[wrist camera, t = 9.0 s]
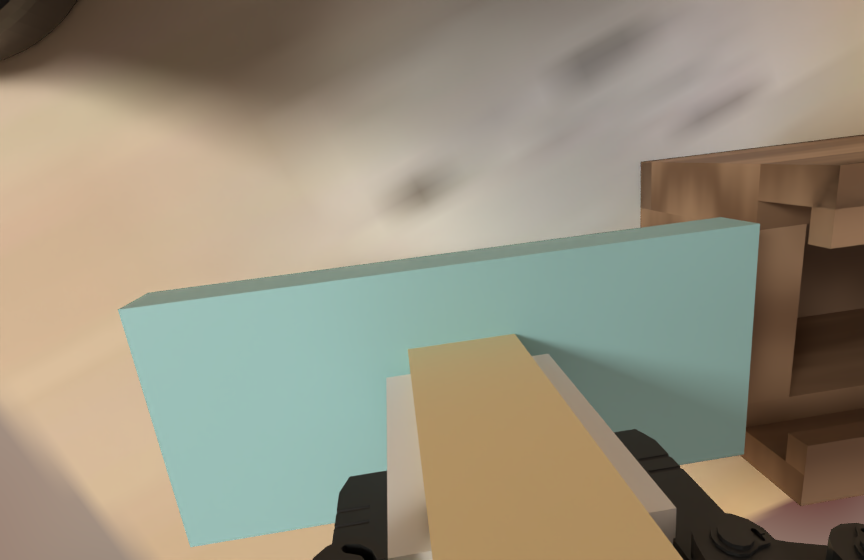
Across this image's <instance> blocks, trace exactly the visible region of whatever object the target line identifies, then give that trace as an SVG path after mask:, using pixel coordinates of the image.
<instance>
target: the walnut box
mask: <svg viewBox="0 0 864 560" xmlns="http://www.w3.org/2000/svg"><path fill="white" fill-rule="evenodd" d="M718 217H723V218H729V219H735V220H741V221H747V222H753V223H759V224H760V232H759V246H758V261H757V275H756V289H755V304H754V318H753V332H752V347H751V361H750V376H749V390H748V404H747V419H746V433H745V447H744V454H743V455H740V456H742V457H743V458H744V459H745V460H746V461H748V462H749V463H750V464H751V465H752V466H753V467H755V468H756V469H757V470H758V471H759V472H761V473H762V474H763V475H764V476H765V477H767V478H768V479H769V480H770V481H771V482H773V483H774V484H775V485H776V486H777V487H779V488H780V489H781V490H782V491H783V492H785V493H786V494H787V495H788V496H789V497H790V498H792V499H793V500H794V501H795V502H796V503H798V504H799V505H800V506H804V505H810V504H814V503H821V502H826V501H832V500H838V499H843V498H849V497H855V496H861V495H864V135H858V136H850V137H841V138H833V139H825V140H817V141H808V142H800V143H792V144H784V145H776V146H767V147H759V148H751V149H743V150H735V151H726V152H718V153H710V154H702V155H694V156H685V157H677V158H669V159H661V160H653V161H644V162H641V228H643V227H650V226H658V225H665V224H673V223H680V222H688V221H695V220H703V219H711V218H718Z"/></svg>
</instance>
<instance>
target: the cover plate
mask: <svg viewBox="0 0 864 560" xmlns="http://www.w3.org/2000/svg"><path fill="white" fill-rule="evenodd" d="M759 232H760V224H759V223H753V222H747V221H741V220H735V219H729V218H723V217H718V218H711V219H703V220H695V221H688V222H680V223H673V224H665V225H658V226H650V227H643V228H635V229H627V230H620V231H612V232H605V233H597V234H590V235H582V236H574V237H567V238H559V239H552V240H544V241H537V242H529V243H522V244H514V245H506V246H499V247H491V248H484V249H476V250H469V251H461V252H454V253H446V254H438V255H431V256H423V257H416V258H408V259H401V260H393V261H385V262H378V263H370V264H363V265H355V266H348V267H340V268H333V269H325V270H317V271H310V272H302V273H295V274H287V275H280V276H272V277H264V278H257V279H249V280H242V281H234V282H227V283H219V284H212V285H204V286H196V287H189V288H181V289H174V290H166V291H159V292H151V293H147V294H145V295H143V296H142V297H140V298H138V299H136V300H135V301H133V302H131V303H129V304H127V305H126V306H124V307H122V308H120V309H118V311H119V315H120V318H121V321H122V324H123V328H124V331H125V334H126V337H127V341H128V344H129V347H130V351H131V354H132V357H133V360H134V364H135V367H136V370H137V374H138V377H139V380H140V383H141V387H142V390H143V393H144V396H145V400H146V403H147V406H148V410H149V413H150V416H151V419H152V423H153V426H154V429H155V432H156V436H157V439H158V442H159V446H160V449H161V452H162V455H163V459H164V462H165V465H166V469H167V472H168V475H169V478H170V482H171V485H172V488H173V491H174V495H175V498H176V501H177V505H178V508H179V511H180V514H181V518H182V521H183V524H184V528H185V531H186V534H187V537H188V541H189V544H190V547H194V546H200V545H206V544H212V543H218V542H224V541H230V540H236V539H242V538H248V537H254V536H260V535H266V534H272V533H278V532H284V531H290V530H296V529H302V528H308V527H313V526H319V525H325V524H331V523H335V519H336V514H337V504H338V497H339V492H340V491H341V489H342V488H343V486H344V485H345V483H346V481H347V480H348V478H349V477H350V476H356V475H362V474H368V473H374V472H381V471H387V401H386V378H387V377H394V376H401V375H408V374H411V381H412V390H413V398H414V407H415V415H416V424H417V432H418V440H419V449H420V457H421V466H422V474H423V482H424V491H425V499H426V508H427V516H428V525H429V533H430V541H431V550H432V558H433V560H683V558H682V557H681V556H680V554H679V553H678V552H677V550H676V549H675V548H674V546H673V545H672V544H671V542H670V541H669V540H668V538H667V537H666V536H665V534H664V533H663V532H662V530H661V529H660V528H659V526H658V525H657V524H656V522H655V521H654V520H653V518H652V517H651V516H650V514H649V513H648V512H647V510H646V509H645V508H644V506H643V505H642V503H641V502H640V501H639V499H638V498H637V497H636V495H635V494H634V493H633V491H632V490H631V489H630V487H629V486H628V485H627V483H626V482H625V481H624V479H623V478H622V477H621V475H620V474H619V473H618V471H617V470H616V469H615V467H614V466H613V465H612V463H611V462H610V461H609V459H608V458H607V457H606V455H605V454H604V453H603V451H602V450H601V449H600V447H599V446H598V445H597V443H596V442H595V441H594V439H593V438H592V437H591V435H590V434H589V432H588V431H587V430H586V428H585V427H584V426H583V424H582V423H581V422H580V420H579V419H578V418H577V416H576V415H575V414H574V412H573V411H572V410H571V408H570V407H569V406H568V404H567V403H566V402H565V400H564V399H563V398H562V396H561V395H560V394H559V392H558V391H557V390H556V388H555V387H554V386H553V384H552V383H551V382H550V380H549V379H548V378H547V376H546V375H545V374H544V372H543V371H542V370H541V368H540V367H539V366H538V364H537V363H536V362H535V360H534V359H533V357H532V356H536V355H542V354H549V355H550V356H551V357H552V359H553V360H554V361H555V362H556V364H557V365H558V366H559V367H560V368H561V370H562V371H563V372H564V373H565V374H566V376H567V377H568V378H569V379H570V380H571V382H572V383H573V384H574V385H575V386H576V388H577V389H578V390H579V391H580V392H581V394H582V395H583V396H584V397H585V398H586V400H587V401H588V402H589V403H590V405H591V406H592V407H593V408H594V409H595V411H596V412H597V413H598V414H599V415H600V417H601V418H602V419H603V420H604V421H605V423H606V424H607V425H608V426H609V427H610V429H611V430H612V431H613V432H619V431H625V430H632V429H637V430H638V431H640V432H642V433H644V434H646V435H647V436H649V437H651V438H653V439H655V440H656V441H657V442H658V443H659V444H660V446H661V447H662V448H663V449H664V450H665V451H666V452H667V453H668V454H669V457H672V458H673V459H674V460H675V461H676V462H677V463H678V464H679V465H683V464H689V463H695V462H701V461H707V460H713V459H719V458H725V457H731V456H737V455H743V454H744V447H745V433H746V419H747V404H748V390H749V376H750V361H751V347H752V332H753V318H754V304H755V289H756V275H757V261H758V246H759Z"/></svg>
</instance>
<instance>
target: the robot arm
mask: <svg viewBox="0 0 864 560" xmlns="http://www.w3.org/2000/svg"><path fill="white" fill-rule="evenodd" d="M76 1H77V0H0V60H2V59H5V58H8V57H10V56H13V55H15V54H17V53H19V52H21V51H23V50H25V49H27V48H29V47H30V46H32V45H33V44H35V43H36V42H38V41H39V40H41V39H42V38H43V37H45V36H46V35H47V34H48V33H50V32H51V31H52V30H53V29H54V28H55V27H56V26H57V25H58V24H59V23H60V22H61V21H62V19H63V18H64V17H65V16H66V15H67V14H68V12H69V11H70V9H71V8H72V7H73V5H74V4H75V2H76ZM532 357H533V359H534V360H535V362H536V363H537V364H538V366H539V367H540V368H541V370H542V371H543V372H544V374H545V375H546V376H547V378H548V379H549V380H550V382H551V383H552V384H553V386H554V387H555V388H556V390H557V391H558V392H559V394H560V395H561V396H562V398H563V399H564V400H565V402H566V403H567V404H568V406H569V407H570V408H571V410H572V411H573V412H574V414H575V415H576V416H577V418H578V419H579V420H580V422H581V423H582V424H583V426H584V427H585V428H586V430H587V431H588V432H589V434H590V435H591V437H592V438H593V439H594V441H595V442H596V443H597V445H598V446H599V447H600V449H601V450H602V451H603V453H604V454H605V455H606V457H607V458H608V459H609V461H610V462H611V463H612V465H613V466H614V467H615V469H616V470H617V471H618V473H619V474H620V475H621V477H622V478H623V479H624V481H625V482H626V483H627V485H628V486H629V487H630V489H631V490H632V491H633V493H634V494H635V495H636V497H637V498H638V499H639V501H640V502H641V503H642V505H643V506H644V508H645V509H646V510H647V512H648V513H649V514H650V516H651V517H652V518H653V520H654V521H655V522H656V524H657V525H658V526H659V528H660V529H661V530H662V532H663V533H664V534H665V536H666V537H667V538H668V540H669V541H670V542H671V544H672V545H673V546H674V548H675V549H676V550H677V552H678V553H679V554H680V556H681V557H682V558H683V560H864V524H859V523H848V524H840V525H838V526H836V527H835V528H833V529H831V532H830V535H829V540H828V546H825V545H815V544H804V543H794V542H785V541H779V540H775V539H774V538H773V537H772V536H771V535H769V533H768V532H766V530H764V529H763V528H762V527H760V526H758V525H757V524H755V523H753V522H751V521H750V520H748V519H745V518H742V517H739V516H736V515H733V514H727V513H724V512H723V511H722V509H721V508H720V507H719V506H718V505H717V504H716V503H715V502H714V501H713V500H712V499H711V498H710V497H709V496H708V495H707V494H706V493H705V492H704V491H703V490H702V489H701V487H700V486H699V485H698V484H697V483H696V482H695V481H694V480H693V479H692V478H691V477H690V476H689V475H688V474H687V473H686V472H685V471H684V470H683V469H681V468H680V465H679V464H678V463H677V462H676V461H675V460H674V459H673V458H672V457H669V454H668V453H667V452H666V451H665V450H664V449H663V448H662V447H661V446H660V444H659V443H658V442H657V441H656V440H655V439H653V438H651V437H649V436H647V435H646V434H644V433H642V432H640V431H638V430H637V429H632V430H625V431H619V432H613V431H612V430H611V429H610V427H609V426H608V425H607V424H606V423H605V421H604V420H603V419H602V418H601V417H600V415H599V414H598V413H597V412H596V411H595V409H594V408H593V407H592V406H591V405H590V403H589V402H588V401H587V400H586V398H585V397H584V396H583V395H582V394H581V392H580V391H579V390H578V389H577V388H576V386H575V385H574V384H573V383H572V382H571V380H570V379H569V378H568V377H567V376H566V374H565V373H564V372H563V371H562V370H561V368H560V367H559V366H558V365H557V364H556V362H555V361H554V360H553V359H552V357H551V356H550V355H549V354H542V355H536V356H532ZM386 401H387V471H381V472H374V473H368V474H362V475H356V476H350V477H349V478H348V480H347V481H346V483H345V485H344V486H343V488H342V489H341V491H340V492H339V497H338V504H337V514H336V519H335V529H334V534H333V541H332V544H331V545H329V546H327V547H326V548H324V549H323V550H322V551H321V552H320V553H319V554H317V555H316V556H315V557H314V558H313V560H433V558H432V550H431V541H430V533H429V525H428V516H427V508H426V499H425V491H424V482H423V474H422V466H421V457H420V449H419V440H418V432H417V424H416V415H415V407H414V398H413V390H412V381H411V374H408V375H401V376H394V377H387V378H386Z"/></svg>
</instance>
